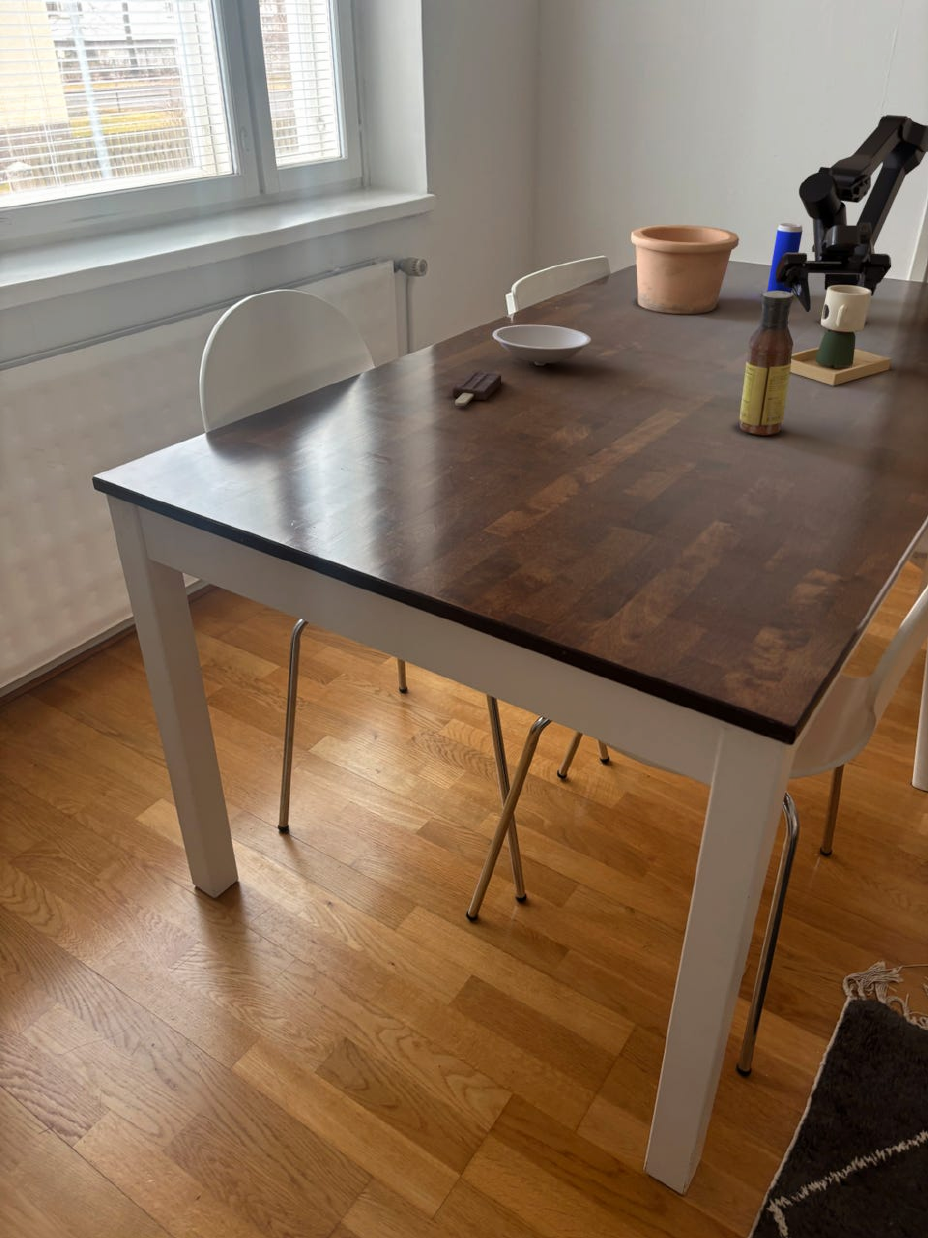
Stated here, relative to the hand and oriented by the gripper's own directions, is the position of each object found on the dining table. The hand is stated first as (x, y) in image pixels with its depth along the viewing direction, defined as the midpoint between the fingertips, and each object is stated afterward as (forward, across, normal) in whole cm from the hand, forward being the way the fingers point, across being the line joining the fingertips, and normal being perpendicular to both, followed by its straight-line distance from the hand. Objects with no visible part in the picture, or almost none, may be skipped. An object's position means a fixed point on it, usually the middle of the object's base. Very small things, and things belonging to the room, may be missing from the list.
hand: (834, 311), depth 169 cm
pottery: (-20, -21, +33) cm, 44 cm away
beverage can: (-26, +2, +39) cm, 47 cm away
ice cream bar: (+22, -63, -10) cm, 68 cm away
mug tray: (+10, 0, +2) cm, 10 cm away
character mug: (+10, 0, +2) cm, 10 cm away
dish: (+10, -52, +2) cm, 53 cm away
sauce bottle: (+32, -20, -20) cm, 42 cm away
